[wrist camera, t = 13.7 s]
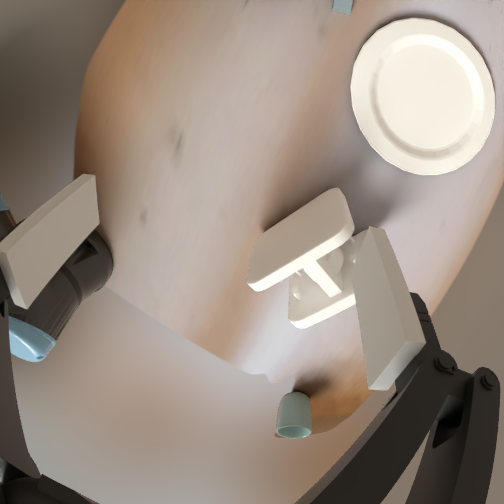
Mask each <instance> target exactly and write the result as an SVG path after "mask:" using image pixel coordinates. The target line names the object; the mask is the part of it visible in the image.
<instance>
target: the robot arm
mask: <svg viewBox="0 0 504 504" xmlns="http://www.w3.org/2000/svg"><path fill="white" fill-rule="evenodd" d="M99 223H100V222H99V213H98V203H97V192H96V178H95V175H89V174H82V175H81V176H79V177H78V178H77V179H75V180H74V181H73V182H71V183H70V184H69V185H67V186H66V187H65V188H63V189H62V190H61V191H60V192H58V193H57V194H56V195H54V196H53V197H52V198H51V199H49V200H48V201H47V202H46V203H44V204H43V205H42V206H41V207H40V208H38V210H36V211H35V212H34V213H32V214H31V215H30V216H29V217H28V218H26V219H24V220H22V221H20V222H19V223H18V224H16V222H15V220H14V218H13V216H12V214H11V212H10V208H9V207H8V206H7V204H6V203H5V201H4V199H3V197H2V195H1V193H0V504H99V503H97V502H95V501H93V500H91V499H89V498H87V497H85V496H83V495H81V494H80V493H78V492H76V491H74V490H72V489H70V488H68V487H66V486H64V485H62V484H60V483H58V482H56V481H54V480H52V479H50V478H48V477H47V476H44V475H43V474H42V475H40V473H39V470H38V468H37V466H36V464H35V463H34V461H33V460H32V458H31V457H30V454H29V453H28V450H27V446H26V442H25V439H24V434H23V429H22V425H21V420H20V416H19V410H18V405H17V399H16V393H15V386H14V380H13V371H12V362H11V353H12V354H14V355H16V356H17V357H20V358H22V359H24V360H27V361H32V362H38V361H41V360H43V359H44V358H45V357H46V356H47V355H48V353H49V352H50V350H51V349H52V348H53V346H55V345H56V341H57V340H58V338H59V336H60V335H61V333H62V331H63V330H64V328H65V327H66V325H67V323H68V322H69V320H70V319H71V317H72V315H73V314H74V312H75V311H76V309H77V308H78V306H79V305H80V303H81V302H82V301H83V300H84V299H86V298H87V297H88V296H90V295H91V294H92V293H94V292H96V291H98V290H99V289H101V288H102V287H103V286H104V285H105V284H106V282H107V281H108V279H109V278H110V276H111V274H112V270H113V262H112V257H111V254H110V251H109V249H108V247H107V245H106V244H105V242H104V241H103V239H102V238H101V237H100V236H99V234H98V233H97V232H96V231H95V230H94V229H95V228H96V227H97V226H98V225H99ZM351 279H352V284H353V289H354V295H355V300H356V306H357V312H358V318H359V324H360V330H361V337H362V343H363V350H364V358H365V365H366V373H367V381H368V389H372V390H388V389H389V388H390V386H391V385H392V384H393V383H394V382H395V385H396V392H395V393H394V394H393V395H392V396H391V397H390V398H389V399H388V400H387V401H386V402H385V403H384V404H383V406H384V407H383V408H382V410H381V411H380V413H378V415H377V416H376V417H375V418H374V420H373V421H372V422H371V423H370V425H369V426H368V427H367V428H366V430H365V431H364V432H363V433H362V434H361V436H360V437H359V438H358V439H357V440H356V441H355V443H354V444H353V445H352V446H351V447H350V448H349V449H348V450H347V452H346V453H345V454H344V455H343V456H342V457H341V458H340V459H339V460H338V461H337V463H336V464H335V465H334V466H333V467H332V468H331V469H330V470H329V471H328V472H327V473H326V474H325V475H324V476H323V477H322V478H321V479H320V480H319V481H318V482H317V483H316V484H315V485H314V486H313V487H312V488H311V489H310V490H309V491H308V492H307V493H305V495H303V496H302V497H301V498H300V499H299V500H298V501H297V502H296V503H295V504H380V503H381V502H382V501H383V499H384V498H385V497H386V496H387V494H388V493H389V491H390V490H391V489H392V487H393V486H394V485H395V483H396V482H397V480H398V479H399V478H400V476H401V475H402V473H403V472H404V470H405V469H406V467H407V466H408V464H409V463H410V461H411V459H412V458H413V457H414V455H415V453H416V452H417V450H418V449H419V447H420V445H421V444H422V442H423V440H424V439H425V437H426V435H427V433H428V432H429V430H430V433H429V436H428V440H427V443H426V447H425V450H424V453H423V456H422V459H421V462H420V466H419V468H418V472H417V474H416V477H415V480H414V482H413V485H412V488H411V491H410V493H409V496H408V498H407V501H406V503H405V504H485V502H486V498H487V494H488V489H489V485H490V479H491V474H492V469H493V463H494V455H495V449H496V441H497V432H498V421H499V407H500V383H499V380H498V378H497V376H496V375H495V374H494V372H493V371H491V370H490V369H488V368H485V367H481V368H478V369H477V370H476V371H475V372H474V373H473V374H470V373H467V372H465V371H462V370H459V369H458V367H457V364H456V362H455V360H454V358H453V357H452V356H451V355H450V354H449V353H447V352H445V351H443V350H441V348H440V345H439V342H438V339H437V336H436V333H435V330H434V327H433V324H432V323H431V318H430V316H429V315H428V310H427V308H426V305H425V303H424V301H423V300H422V299H421V298H420V296H419V295H418V294H417V293H411V292H409V290H408V287H407V285H406V282H405V279H404V277H403V274H402V271H401V269H400V266H399V264H398V261H397V259H396V256H395V254H394V251H393V249H392V246H391V244H390V242H389V239H388V237H387V235H386V232H385V230H384V229H380V228H376V227H372V226H369V228H368V231H367V234H366V236H365V239H364V241H363V244H362V246H361V249H360V251H359V254H358V256H357V258H356V261H355V263H354V266H353V268H352V270H351ZM430 428H431V429H430Z"/></svg>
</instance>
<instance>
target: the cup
mask: <svg viewBox="0 0 504 504" xmlns="http://www.w3.org/2000/svg"><path fill="white" fill-rule="evenodd" d="M311 431H312V406H311V401H310V399H309V397H308V396H307V395H305V394H303V393H301V392H291V393H288V394H286V395H285V396H284V397H283V398H282V399H281V402H280V405H279V409H278V415H277V425H276V432H277V433H278V434H279V435H281V436H283V437H286V438H302V437H305V436H308V435H309V434H311Z"/></svg>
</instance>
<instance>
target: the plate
mask: <svg viewBox="0 0 504 504" xmlns="http://www.w3.org/2000/svg"><path fill="white" fill-rule="evenodd" d="M350 88H351V99H352V108H353V111H354V114H355V117H356V120H357V123H358V126H359V128H360V130H361V132H362V133H363V135H364V136H365V138H366V139H367V141H368V142H369V144H370V146H371V147H372V148H373V149H374V150H375V151H376V152H377V153H378V154H379V155H380V156H382V157H383V158H384V159H385V160H386V161H387V162H389V163H391V164H393V165H394V166H396V167H398V168H400V169H401V170H403V171H407V172H411V173H415V174H419V175H440V174H443V173H447V172H450V171H453V170H456V169H458V168H459V167H461V166H462V165H464V164H466V163H467V162H469V161H470V160H471V159H472V158H473V157H474V156H475V155H476V154H477V153H478V152H479V150H480V149H481V148H482V147H483V145H484V143H485V141H486V139H487V137H488V136H489V134H490V131H491V128H492V124H493V120H494V116H495V92H494V87H493V83H492V78H491V75H490V73H489V70H488V68H487V66H486V64H485V62H484V60H483V58H482V56H481V55H480V54H479V52H478V51H477V50H476V49H475V47H474V46H473V45H472V44H471V42H470V41H469V40H468V39H466V38H465V37H464V36H463V35H461V34H460V33H459V32H457V31H456V30H455V29H453V28H452V27H449V26H447V25H445V24H442V23H440V22H438V21H435V20H430V19H423V18H408V19H402V20H397V21H393V22H392V23H390V24H388V25H386V26H384V27H382V28H381V29H379V30H377V31H376V32H375V33H374V34H373V35H372V36H371V37H370V38H369V39H368V40H367V42H366V43H365V44H364V45H363V46H362V48H361V50H360V52H359V55H358V57H357V59H356V61H355V63H354V66H353V72H352V78H351V84H350Z"/></svg>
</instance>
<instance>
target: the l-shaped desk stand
mask: <svg viewBox="0 0 504 504" xmlns="http://www.w3.org/2000/svg"><path fill="white" fill-rule="evenodd" d="M352 2H353V0H334V1H333V6H332V11H336V12H340V13H344V14H347V15H349V14H350V12H351V7H352Z"/></svg>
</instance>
